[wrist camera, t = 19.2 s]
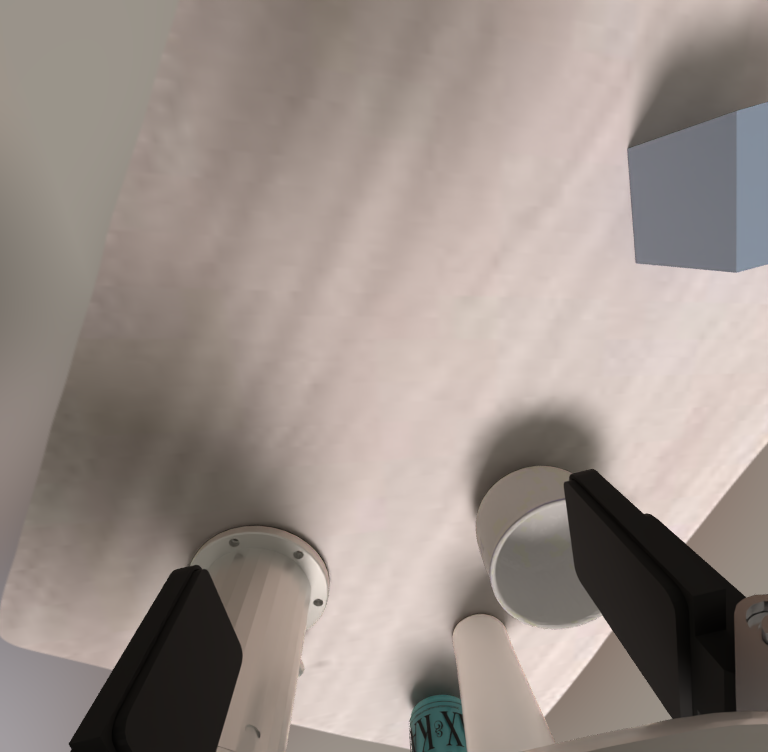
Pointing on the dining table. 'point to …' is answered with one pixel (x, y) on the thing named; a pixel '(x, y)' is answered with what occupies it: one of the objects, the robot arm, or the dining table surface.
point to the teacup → (532, 550)
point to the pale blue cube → (703, 194)
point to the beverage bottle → (438, 725)
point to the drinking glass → (495, 690)
